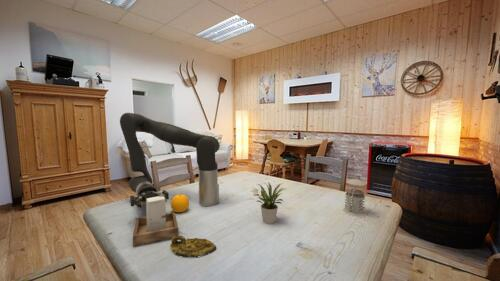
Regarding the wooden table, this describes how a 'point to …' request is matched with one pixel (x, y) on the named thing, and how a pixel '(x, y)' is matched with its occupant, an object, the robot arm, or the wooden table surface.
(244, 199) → the wooden table surface
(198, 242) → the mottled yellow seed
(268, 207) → the house plant
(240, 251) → the wooden table surface
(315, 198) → the wooden table surface
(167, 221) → the walnut box
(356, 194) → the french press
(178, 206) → the orange
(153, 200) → the skincare box
